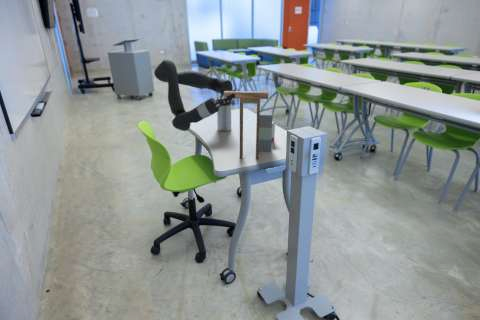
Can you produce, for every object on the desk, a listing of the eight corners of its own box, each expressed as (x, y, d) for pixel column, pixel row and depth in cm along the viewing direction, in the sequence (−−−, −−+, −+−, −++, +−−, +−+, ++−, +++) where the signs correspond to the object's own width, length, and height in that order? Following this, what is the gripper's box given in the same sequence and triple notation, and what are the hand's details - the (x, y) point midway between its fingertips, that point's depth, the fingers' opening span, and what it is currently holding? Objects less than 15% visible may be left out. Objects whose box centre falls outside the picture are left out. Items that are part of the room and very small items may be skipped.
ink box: (272, 138, 193) (273, 120, 188) (274, 141, 189) (275, 123, 184) (258, 139, 192) (259, 121, 187) (260, 142, 187) (261, 123, 182)
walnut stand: (240, 154, 171) (240, 96, 158) (258, 154, 170) (260, 96, 157) (239, 158, 165) (239, 99, 152) (258, 159, 165) (260, 99, 152)
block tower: (256, 147, 180) (257, 112, 172) (270, 147, 180) (272, 112, 171) (256, 151, 175) (257, 115, 166) (270, 151, 175) (272, 115, 166)
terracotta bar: (224, 96, 157) (224, 91, 155) (268, 97, 156) (268, 91, 154) (223, 98, 154) (223, 92, 153) (268, 99, 153) (268, 92, 152)
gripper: (201, 105, 150) (230, 89, 146) (206, 98, 163) (232, 83, 159) (209, 118, 153) (238, 102, 149) (213, 110, 166) (240, 96, 162)
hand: (235, 92), depth 154 cm, fingers open, 8 cm apart
